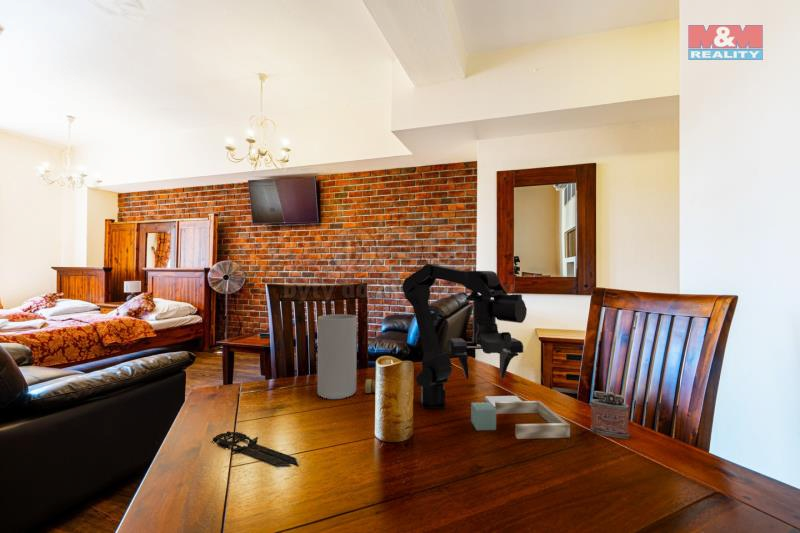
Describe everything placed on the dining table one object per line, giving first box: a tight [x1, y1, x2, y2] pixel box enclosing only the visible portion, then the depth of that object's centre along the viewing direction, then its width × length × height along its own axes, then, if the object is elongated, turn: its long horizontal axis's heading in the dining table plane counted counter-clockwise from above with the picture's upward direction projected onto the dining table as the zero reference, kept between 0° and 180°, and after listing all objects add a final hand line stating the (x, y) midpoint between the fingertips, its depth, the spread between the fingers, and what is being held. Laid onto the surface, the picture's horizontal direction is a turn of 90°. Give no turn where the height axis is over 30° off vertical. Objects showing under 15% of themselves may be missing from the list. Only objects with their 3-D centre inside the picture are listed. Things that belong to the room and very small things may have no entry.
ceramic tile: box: [484, 395, 523, 408], centre depth 99 cm, size 10×8×1 cm
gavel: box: [364, 378, 375, 394], centre depth 117 cm, size 21×5×10 cm
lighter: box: [590, 390, 630, 439], centre depth 81 cm, size 8×3×10 cm, turn 65°
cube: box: [470, 401, 497, 431], centre depth 85 cm, size 5×5×5 cm
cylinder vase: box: [317, 313, 358, 400], centre depth 108 cm, size 12×12×25 cm
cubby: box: [495, 400, 571, 440], centre depth 86 cm, size 13×15×3 cm
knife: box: [212, 431, 299, 467], centre depth 72 cm, size 25×6×1 cm, turn 57°
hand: (484, 378), depth 86 cm, fingers open, 9 cm apart
